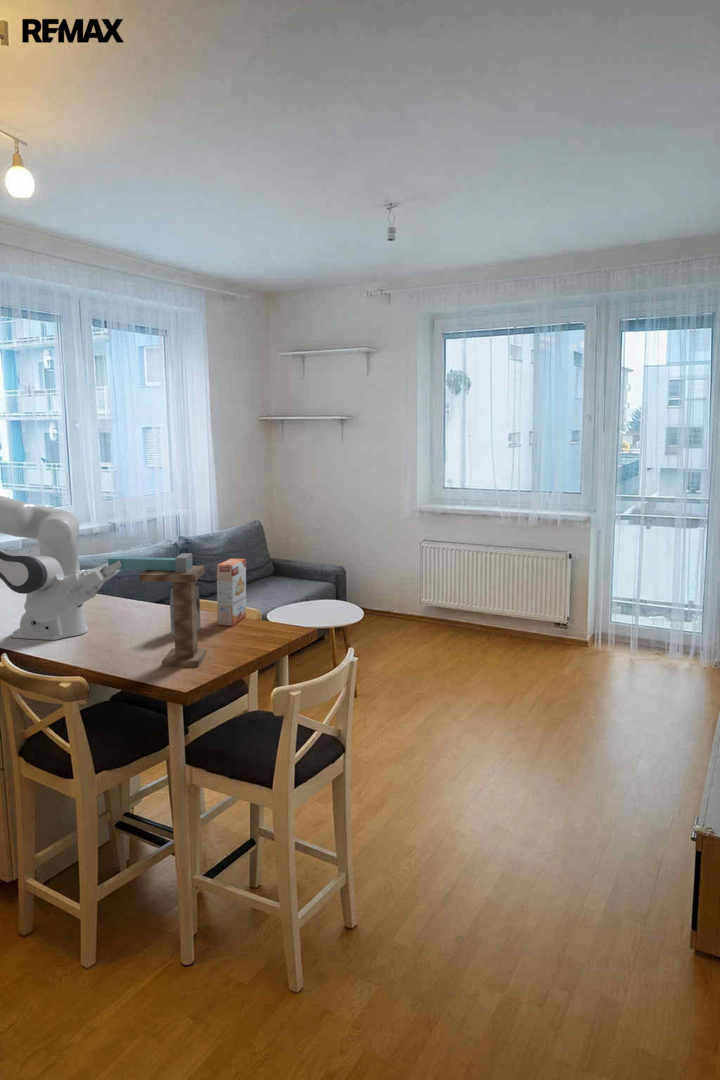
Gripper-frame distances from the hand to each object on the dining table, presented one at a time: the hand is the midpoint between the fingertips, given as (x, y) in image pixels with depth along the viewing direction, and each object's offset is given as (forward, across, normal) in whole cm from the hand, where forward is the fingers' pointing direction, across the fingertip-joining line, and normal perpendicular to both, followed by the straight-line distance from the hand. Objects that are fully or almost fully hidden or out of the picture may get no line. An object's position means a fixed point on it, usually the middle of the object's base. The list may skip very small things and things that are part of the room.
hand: (123, 561), depth 202 cm
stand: (-3, 0, +31) cm, 31 cm away
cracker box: (+6, +44, +36) cm, 57 cm away
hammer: (+5, 0, +6) cm, 8 cm away
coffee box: (-5, +30, +30) cm, 43 cm away
